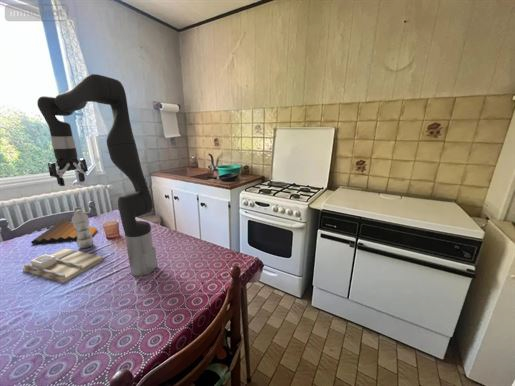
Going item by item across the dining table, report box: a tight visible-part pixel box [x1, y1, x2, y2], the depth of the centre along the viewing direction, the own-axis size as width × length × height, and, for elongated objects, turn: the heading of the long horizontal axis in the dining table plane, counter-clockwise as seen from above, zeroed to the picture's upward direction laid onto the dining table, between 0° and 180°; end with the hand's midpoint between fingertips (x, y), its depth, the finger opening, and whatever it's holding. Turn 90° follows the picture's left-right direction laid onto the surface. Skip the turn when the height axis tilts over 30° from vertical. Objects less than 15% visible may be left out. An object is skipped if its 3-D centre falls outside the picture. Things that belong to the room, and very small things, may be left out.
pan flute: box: [30, 219, 98, 245], centre depth 124 cm, size 25×3×25 cm
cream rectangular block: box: [30, 253, 57, 269], centre depth 91 cm, size 6×5×3 cm
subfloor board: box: [21, 248, 104, 284], centre depth 94 cm, size 23×16×3 cm
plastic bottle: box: [71, 207, 95, 249], centre depth 106 cm, size 6×7×20 cm
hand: (72, 183), depth 100 cm, fingers open, 8 cm apart
